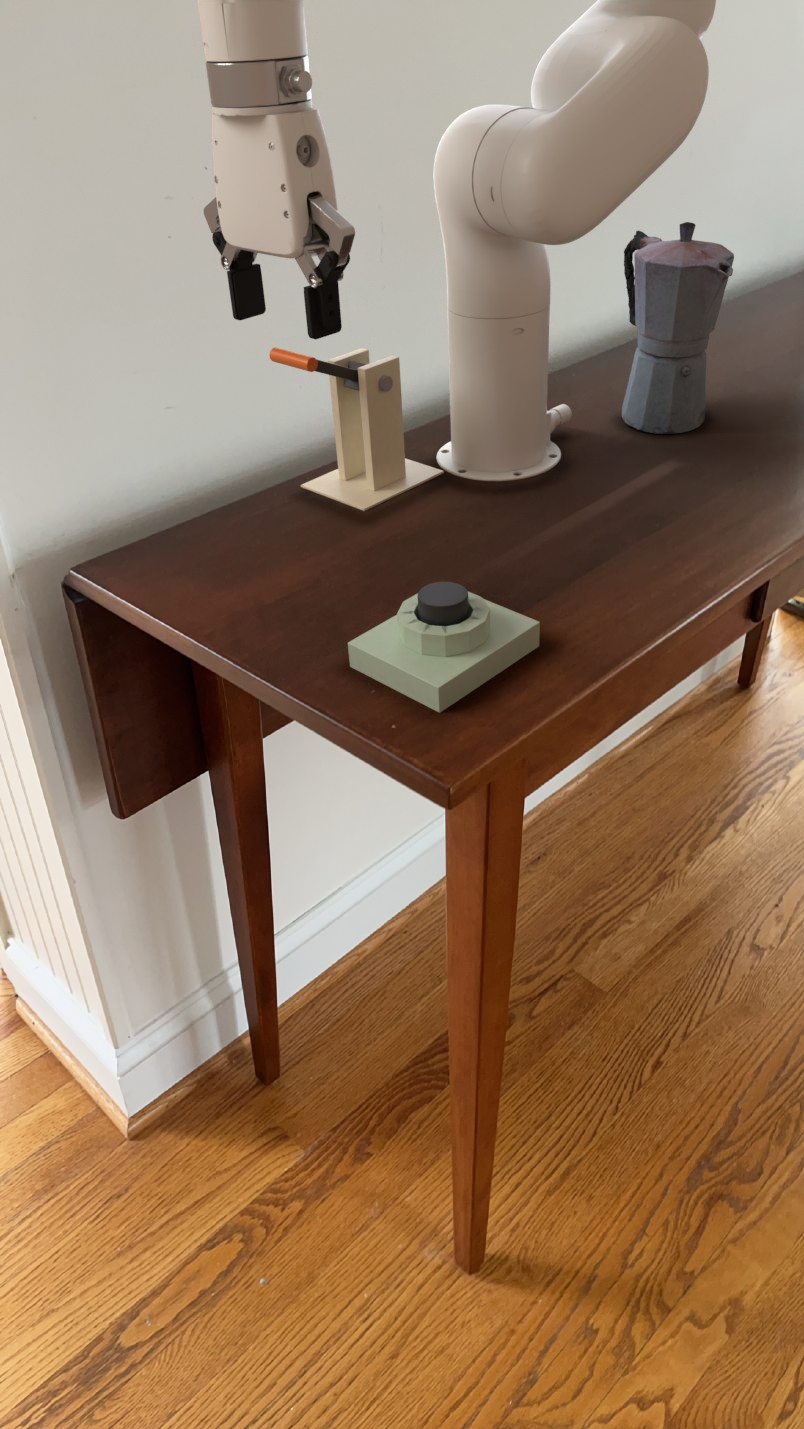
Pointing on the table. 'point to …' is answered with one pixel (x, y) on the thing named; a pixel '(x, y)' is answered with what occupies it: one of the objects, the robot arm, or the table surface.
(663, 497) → the table surface
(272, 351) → the orange grip lever
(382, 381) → the pivot handle stand
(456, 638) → the socket block
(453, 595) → the socket button
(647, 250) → the moka pot
